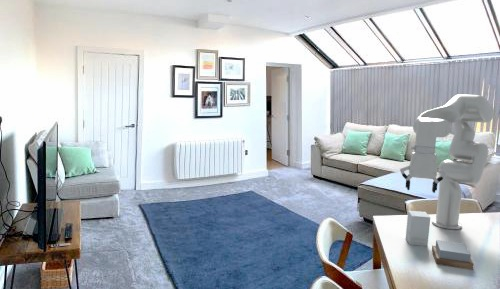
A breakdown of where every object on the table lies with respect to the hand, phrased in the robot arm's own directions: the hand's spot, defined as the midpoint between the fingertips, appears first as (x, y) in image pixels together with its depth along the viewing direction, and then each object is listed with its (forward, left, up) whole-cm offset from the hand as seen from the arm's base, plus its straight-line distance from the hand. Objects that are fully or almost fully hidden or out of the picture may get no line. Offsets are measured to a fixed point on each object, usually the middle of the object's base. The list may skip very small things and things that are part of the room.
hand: (420, 190), depth 152 cm
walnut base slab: (+13, +11, -23) cm, 29 cm away
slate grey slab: (+13, +11, -20) cm, 27 cm away
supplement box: (0, 0, -23) cm, 23 cm away
